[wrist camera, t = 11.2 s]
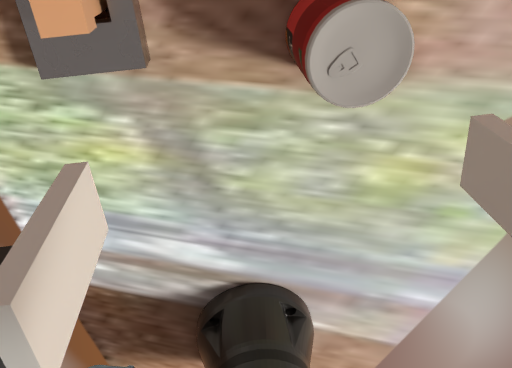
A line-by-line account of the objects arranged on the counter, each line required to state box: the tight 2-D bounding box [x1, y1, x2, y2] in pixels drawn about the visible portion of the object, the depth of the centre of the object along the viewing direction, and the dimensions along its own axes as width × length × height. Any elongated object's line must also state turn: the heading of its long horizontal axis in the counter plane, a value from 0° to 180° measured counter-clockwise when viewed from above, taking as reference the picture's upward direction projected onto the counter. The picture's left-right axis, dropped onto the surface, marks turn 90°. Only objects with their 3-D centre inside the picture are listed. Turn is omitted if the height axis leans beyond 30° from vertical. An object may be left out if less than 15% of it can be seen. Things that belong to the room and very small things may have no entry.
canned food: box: [286, 0, 414, 108], centre depth 36 cm, size 8×8×11 cm
